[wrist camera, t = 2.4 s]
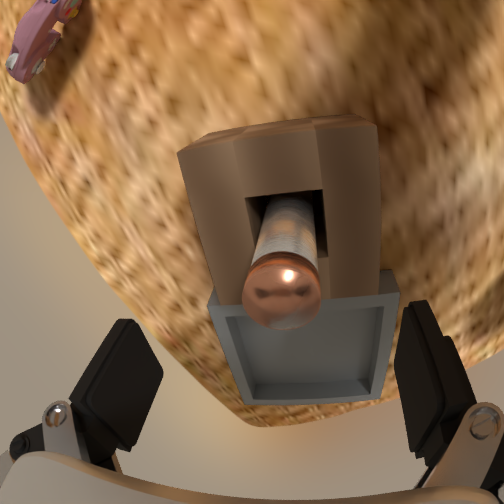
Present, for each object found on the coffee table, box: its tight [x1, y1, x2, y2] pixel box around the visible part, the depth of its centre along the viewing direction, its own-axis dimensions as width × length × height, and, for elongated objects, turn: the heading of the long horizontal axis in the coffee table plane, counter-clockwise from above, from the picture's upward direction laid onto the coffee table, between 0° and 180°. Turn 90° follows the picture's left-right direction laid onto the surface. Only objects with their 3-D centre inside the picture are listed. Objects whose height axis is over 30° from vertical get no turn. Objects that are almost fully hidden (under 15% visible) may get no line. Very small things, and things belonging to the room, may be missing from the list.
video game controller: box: [5, 0, 82, 84], centre depth 13 cm, size 10×5×7 cm, turn 136°
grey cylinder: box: [242, 190, 321, 330], centre depth 16 cm, size 3×3×12 cm
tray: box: [207, 270, 400, 405], centre depth 27 cm, size 15×15×3 cm
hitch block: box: [177, 114, 381, 305], centre depth 19 cm, size 10×10×6 cm
